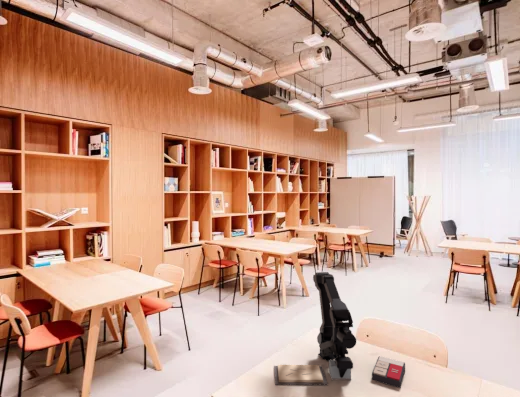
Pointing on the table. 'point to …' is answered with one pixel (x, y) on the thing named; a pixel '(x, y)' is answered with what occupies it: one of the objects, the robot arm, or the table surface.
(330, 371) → the block
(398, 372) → the black red beige box
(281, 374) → the board
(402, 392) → the table surface
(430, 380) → the table surface
